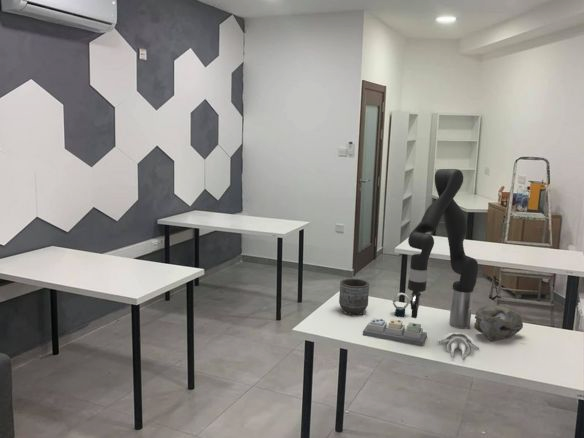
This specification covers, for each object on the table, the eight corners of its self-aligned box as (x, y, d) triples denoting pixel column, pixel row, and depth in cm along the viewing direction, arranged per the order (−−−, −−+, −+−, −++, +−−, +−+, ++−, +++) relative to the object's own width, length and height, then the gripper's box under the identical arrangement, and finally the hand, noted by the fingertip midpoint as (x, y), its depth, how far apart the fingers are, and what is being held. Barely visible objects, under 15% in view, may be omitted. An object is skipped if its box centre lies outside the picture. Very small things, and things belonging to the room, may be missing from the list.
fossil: (466, 335, 230) (469, 303, 227) (496, 326, 242) (500, 296, 239) (494, 347, 218) (497, 314, 215) (524, 337, 230) (528, 305, 227)
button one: (420, 331, 225) (421, 323, 224) (418, 335, 220) (419, 327, 219) (408, 329, 227) (409, 321, 226) (406, 333, 222) (407, 325, 221)
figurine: (479, 365, 202) (478, 341, 225) (481, 344, 200) (480, 323, 223) (435, 358, 207) (438, 335, 230) (436, 337, 205) (440, 317, 229)
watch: (392, 311, 256) (393, 290, 254) (408, 314, 254) (410, 292, 252) (390, 315, 251) (392, 294, 249) (407, 318, 249) (409, 296, 247)
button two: (402, 328, 228) (402, 320, 227) (399, 332, 223) (400, 324, 222) (390, 326, 230) (391, 318, 229) (388, 330, 225) (389, 322, 224)
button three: (384, 327, 231) (384, 319, 230) (381, 331, 226) (382, 323, 226) (373, 325, 233) (373, 317, 232) (370, 329, 228) (370, 321, 227)
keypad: (426, 336, 227) (427, 327, 226) (422, 346, 217) (423, 336, 216) (369, 326, 237) (369, 317, 236) (362, 335, 227) (363, 325, 226)
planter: (336, 314, 250) (338, 285, 247) (340, 305, 264) (342, 276, 261) (365, 318, 247) (367, 288, 244) (368, 308, 260) (370, 279, 258)
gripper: (424, 284, 212) (420, 324, 215) (428, 276, 224) (425, 314, 227) (405, 281, 215) (402, 320, 218) (411, 273, 227) (408, 311, 230)
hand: (414, 317), depth 222 cm, fingers closed
